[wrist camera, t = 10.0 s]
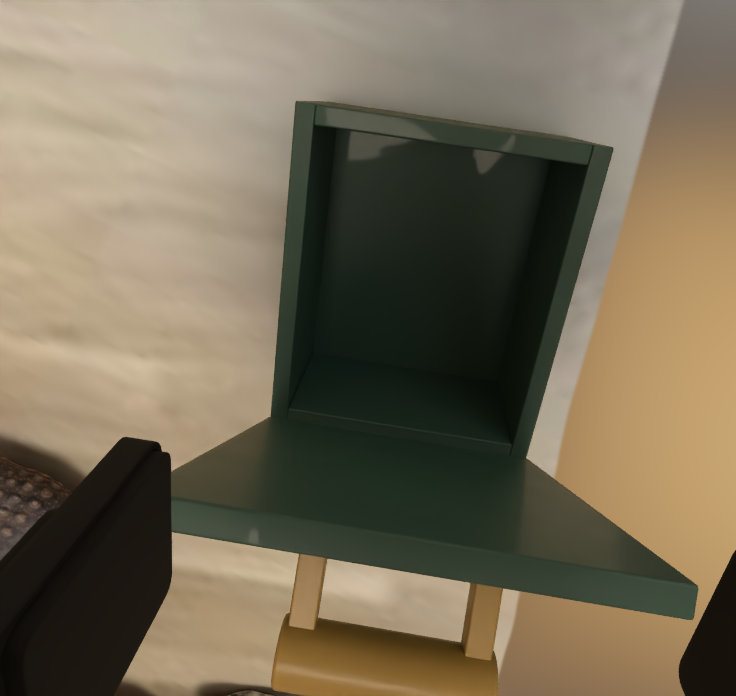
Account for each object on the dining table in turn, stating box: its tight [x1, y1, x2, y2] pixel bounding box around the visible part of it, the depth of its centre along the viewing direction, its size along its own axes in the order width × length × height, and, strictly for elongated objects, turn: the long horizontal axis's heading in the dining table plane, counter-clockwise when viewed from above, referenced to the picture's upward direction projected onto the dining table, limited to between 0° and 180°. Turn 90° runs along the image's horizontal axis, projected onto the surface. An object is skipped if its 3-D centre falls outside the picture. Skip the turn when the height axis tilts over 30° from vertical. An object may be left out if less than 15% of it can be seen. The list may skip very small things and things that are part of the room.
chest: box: [271, 101, 613, 459], centre depth 29 cm, size 15×13×8 cm
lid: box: [171, 417, 698, 696], centre depth 21 cm, size 15×13×5 cm
